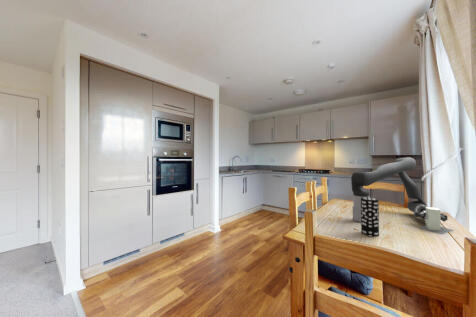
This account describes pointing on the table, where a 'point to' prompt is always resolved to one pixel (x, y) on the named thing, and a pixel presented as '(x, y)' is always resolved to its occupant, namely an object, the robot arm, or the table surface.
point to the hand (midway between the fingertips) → (434, 218)
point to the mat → (443, 230)
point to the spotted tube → (370, 216)
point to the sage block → (433, 219)
